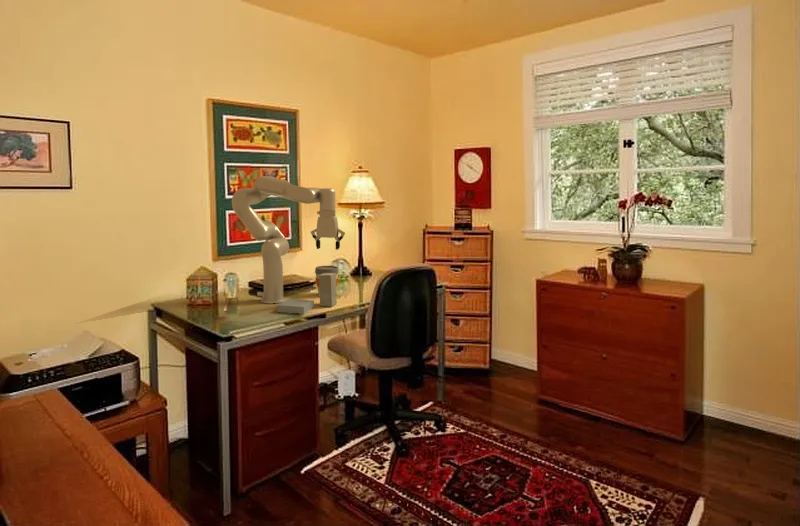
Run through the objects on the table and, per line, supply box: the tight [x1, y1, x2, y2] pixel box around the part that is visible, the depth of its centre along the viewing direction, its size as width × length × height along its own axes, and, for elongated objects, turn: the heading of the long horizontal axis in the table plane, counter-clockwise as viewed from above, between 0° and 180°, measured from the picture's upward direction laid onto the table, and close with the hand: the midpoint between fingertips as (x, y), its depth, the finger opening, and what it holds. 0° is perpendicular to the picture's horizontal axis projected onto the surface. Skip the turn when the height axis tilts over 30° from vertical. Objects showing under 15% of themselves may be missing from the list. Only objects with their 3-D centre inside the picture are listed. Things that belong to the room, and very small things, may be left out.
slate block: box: [277, 298, 315, 315], centre depth 260 cm, size 13×13×4 cm
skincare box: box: [319, 273, 338, 308], centre depth 270 cm, size 8×7×16 cm
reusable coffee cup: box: [314, 265, 339, 296], centre depth 292 cm, size 13×13×15 cm
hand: (327, 249), depth 267 cm, fingers open, 9 cm apart
